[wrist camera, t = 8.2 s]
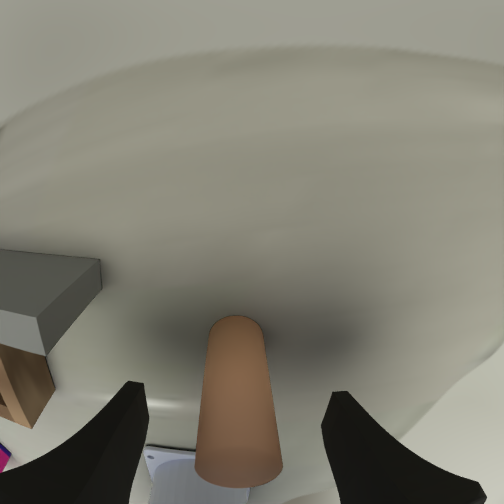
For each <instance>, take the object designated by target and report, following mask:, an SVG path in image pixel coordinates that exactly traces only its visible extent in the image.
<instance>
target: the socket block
mask: <svg viewBox="0 0 504 504" xmlns="http://www.w3.org/2000/svg"><path fill="white" fill-rule="evenodd" d="M54 391H55V387H54V385H53V382H52V379H51V376H50V373H49V370H48V366H47V363H46V360H45V357H44V356H43V355H39V354H35V353H32V352H28V351H24V350H21V349H17V348H14V347H11V346H7V345H4V344H1V343H0V416H1V417H3V418H6V419H8V420H10V421H13V422H15V423H18V424H20V425H23V426H25V427H28V428H30V429H32V428H33V426H34V425H35V423H36V421H37V419H38V418H39V416H40V414H41V413H42V411H43V409H44V408H45V406H46V404H47V403H48V401H49V399H50V398H51V396H52V395H53V393H54Z"/></svg>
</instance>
